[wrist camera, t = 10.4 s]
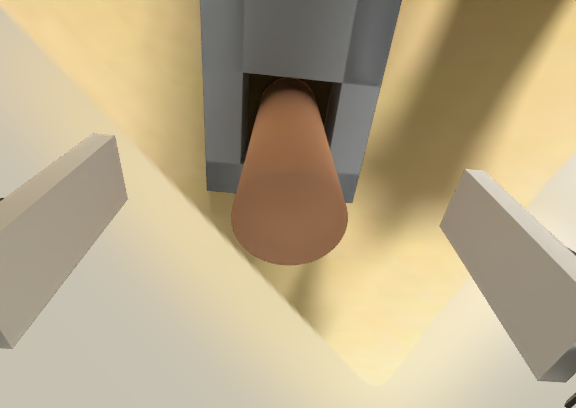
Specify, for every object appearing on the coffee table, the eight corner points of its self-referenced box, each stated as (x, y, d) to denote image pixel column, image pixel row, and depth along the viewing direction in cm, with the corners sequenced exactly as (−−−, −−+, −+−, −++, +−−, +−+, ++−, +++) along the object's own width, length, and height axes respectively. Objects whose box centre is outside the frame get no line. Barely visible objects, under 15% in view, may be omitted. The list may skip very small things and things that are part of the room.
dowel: (261, 74, 22) (231, 164, 10) (320, 81, 22) (359, 175, 10) (258, 131, 24) (230, 261, 12) (312, 137, 24) (336, 268, 12)
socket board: (211, -233, 15) (189, -302, 11) (425, -200, 15) (463, -255, 12) (217, 164, 25) (207, 190, 22) (343, 176, 26) (352, 203, 23)
